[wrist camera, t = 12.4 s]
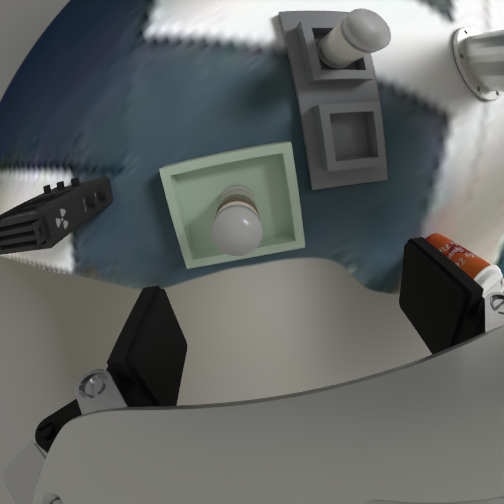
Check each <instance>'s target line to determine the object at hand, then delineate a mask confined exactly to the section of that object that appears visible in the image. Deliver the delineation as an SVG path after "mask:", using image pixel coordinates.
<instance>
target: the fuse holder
mask: <svg viewBox="0 0 504 504" xmlns="http://www.w3.org/2000/svg"><path fill="white" fill-rule="evenodd" d="M349 13H350V12H338V11H285V12H279V14H278V16H279V20H280V24H281V28H282V32H283V36H284V41H285V45H286V49H287V54H288V58H289V63H290V68H291V73H292V78H293V83H294V88H295V93H296V98H297V104H298V109H299V115H300V121H301V127H302V133H303V139H304V146H305V152H306V159H307V166H308V174H309V181H310V189H312V190H318V189H325V188H331V187H338V186H346V185H353V184H360V183H368V182H376V181H385V180H388V175H387V160H386V148H385V137H384V128H383V120H382V113H381V106H380V99H379V93H378V87H377V82H376V76H375V71H374V66H373V62H372V57H371V53H370V54H368V55H366V56H364V57H362V58H360V59H358V60H356V61H354V62H352V63H350V64H349V65H347V66H345V67H343V68H341V69H330V68H327V67H325V66H324V65H322V64H321V63H320V61H319V57H318V52H317V48H316V45H317V43H318V42H319V41H320V40H321V39H322V38H324V37H325V36H326V35H327V34H328V33H329V32H330V31H331V30H332V29H334V28H335V27H336V26H337V25H338V24H339V23H340V22H341V21H342V20H343V19H344V18H345V17H346V16H347V15H348V14H349Z"/></svg>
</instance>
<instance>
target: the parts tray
mask: <svg viewBox="0 0 504 504" xmlns="http://www.w3.org/2000/svg"><path fill="white" fill-rule="evenodd" d="M159 171H160V175H161V179H162V183H163V187H164V191H165V195H166V199H167V202H168V206H169V210H170V213H171V217H172V221H173V224H174V228H175V231H176V235H177V238H178V241H179V245H180V248H181V251H182V255H183V258H184V261H185V264H186V268H187V269H190V268H195V267H201V266H206V265H212V264H217V263H223V262H228V261H234V260H239V259H245V258H250V257H256V256H261V255H267V254H272V253H278V252H283V251H289V250H294V249H299V248H305V240H304V231H303V222H302V214H301V206H300V199H299V191H298V184H297V177H296V170H295V163H294V157H293V151H292V144H291V142H288V141H283V142H276V143H270V144H264V145H258V146H252V147H246V148H241V149H236V150H231V151H226V152H221V153H216V154H211V155H207V156H202V157H198V158H194V159H189V160H185V161H181V162H177V163H173V164H170V165H166V166H164V167H162V168H160V169H159ZM233 185H242V186H245V187H247V188H248V189H250V190H251V191H252V193H253V194H254V197H255V201H256V206H257V210H258V214H259V218H260V222H261V227H262V239H261V242H260V244H259V245H258V247H257V248H256V249H255V250H254V251H252V252H251V253H249V254H247V255H244V256H231V255H227V254H225V253H223V252H222V251H221V250H219V249H218V248H217V246H216V245H215V243H214V241H213V238H212V228H213V224H214V220H215V216H216V212H217V208H218V206H219V200H220V197H221V194H222V193H223V191H224V190H225V189H227V188H228V187H230V186H233Z"/></svg>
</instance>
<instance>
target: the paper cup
mask: <svg viewBox="0 0 504 504" xmlns="http://www.w3.org/2000/svg"><path fill="white" fill-rule="evenodd" d="M425 240H427V241H428V242H429V243H431V244H432V245H433V246H434V247H436V248H437V249H438V250H439V251H441V252H442V253H443V254H444V255H446V256H447V257H448V258H449V259H450V260H452V261H453V262H454V263H455V264H456V265H458V266H459V267H460V268H461V269H462V270H463V271H465V272H466V273H467V274H468V275H469V276H470V277H471V278H472V279H474V280H475V281H476V282H477V283H478V284H479V285H480V286H481V287H482V288H483V289H484V291H483V295H482V296H483V297H484V298H485V297H486V296H487V295H488V294H489V293H492V292H502V293H503V290H504V279H503V277H502V276H503V275H502V273H501V271H500V269H499V267H498V266H496V265H491V264H489V263H487V262H486V261H484V260H483V259H481V258H480V257H478V256H476V255H475V254H473V253H472V252H470V251H468V250H467V249H465V248H463V247H462V246H460V245H458V244H457V243H455V242H453V241H451V240H450V239H448V238H446V237H444V236H442V235H440V234H432V235H430V236H429V237H427V238H426V239H425Z"/></svg>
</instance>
